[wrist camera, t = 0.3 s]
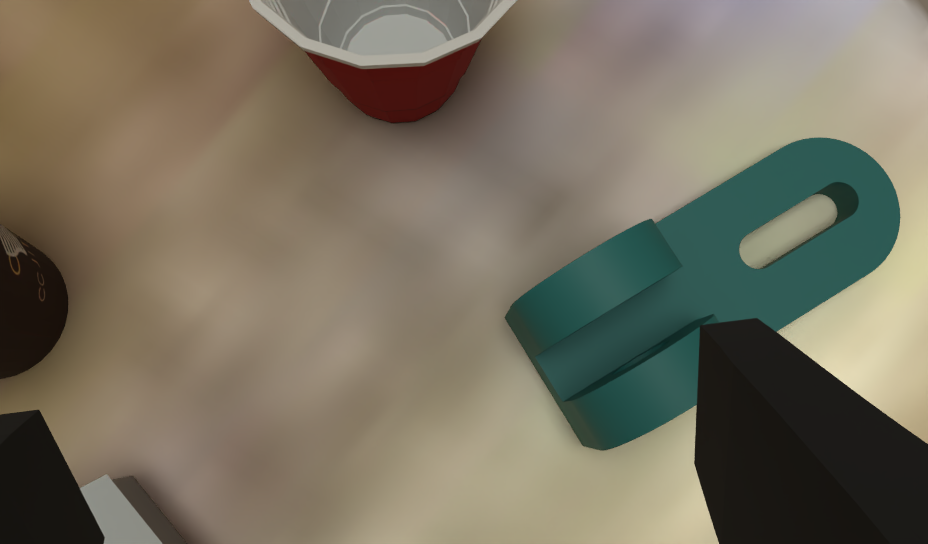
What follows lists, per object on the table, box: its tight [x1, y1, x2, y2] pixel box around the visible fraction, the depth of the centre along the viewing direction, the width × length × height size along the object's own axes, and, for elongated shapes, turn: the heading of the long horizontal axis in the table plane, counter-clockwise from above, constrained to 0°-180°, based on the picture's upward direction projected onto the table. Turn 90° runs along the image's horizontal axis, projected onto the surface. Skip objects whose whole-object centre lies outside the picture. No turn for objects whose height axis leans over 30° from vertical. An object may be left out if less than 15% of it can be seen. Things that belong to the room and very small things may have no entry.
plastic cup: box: [249, 0, 517, 123], centre depth 34 cm, size 11×11×12 cm
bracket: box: [505, 138, 900, 450], centre depth 35 cm, size 18×7×8 cm, turn 121°
